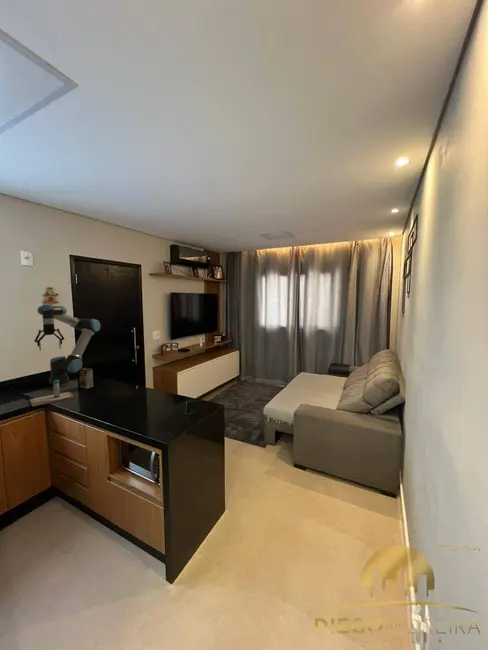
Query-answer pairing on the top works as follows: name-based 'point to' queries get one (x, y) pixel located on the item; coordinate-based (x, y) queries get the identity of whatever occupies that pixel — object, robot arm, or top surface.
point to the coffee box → (86, 378)
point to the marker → (56, 388)
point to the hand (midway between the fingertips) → (50, 349)
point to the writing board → (50, 399)
